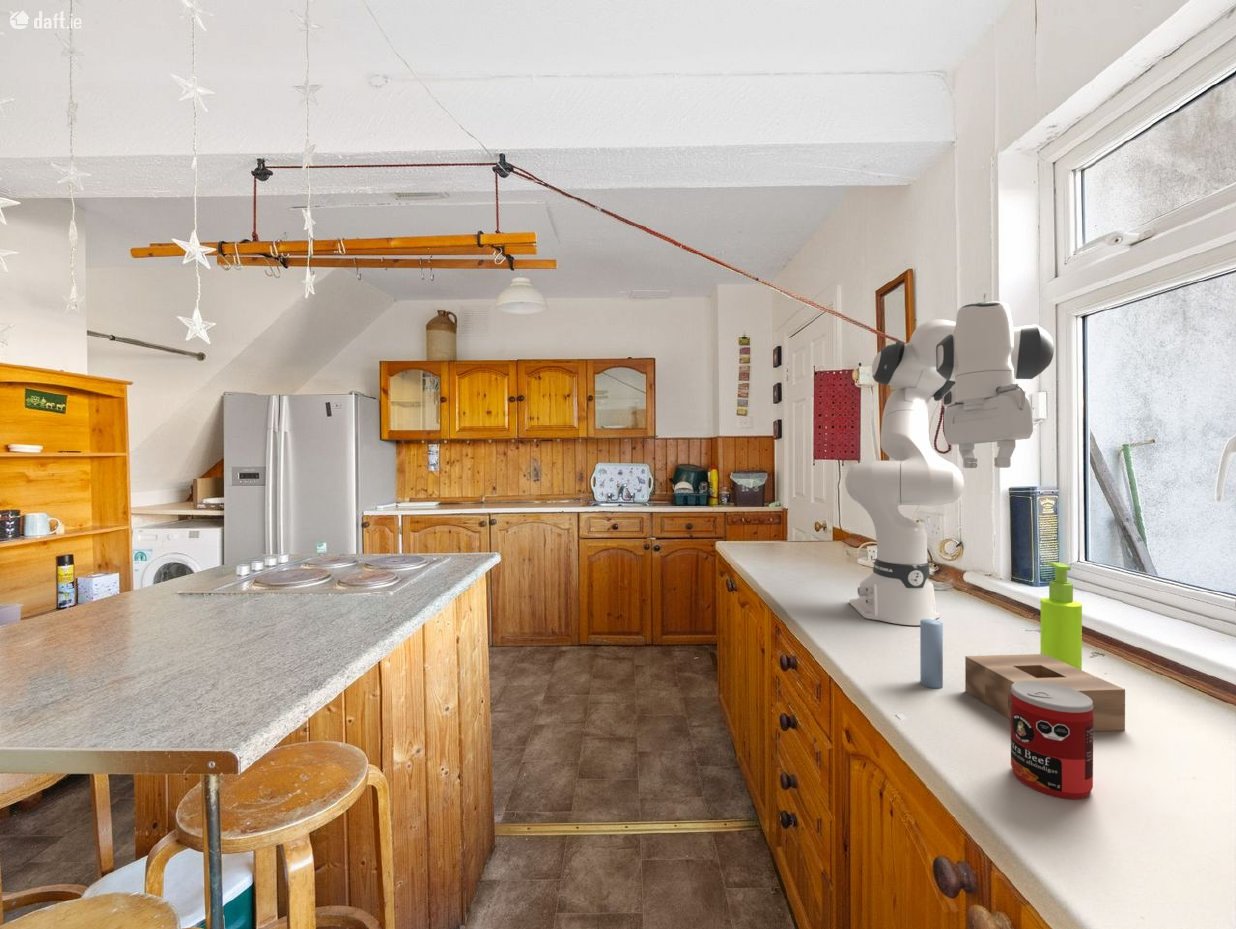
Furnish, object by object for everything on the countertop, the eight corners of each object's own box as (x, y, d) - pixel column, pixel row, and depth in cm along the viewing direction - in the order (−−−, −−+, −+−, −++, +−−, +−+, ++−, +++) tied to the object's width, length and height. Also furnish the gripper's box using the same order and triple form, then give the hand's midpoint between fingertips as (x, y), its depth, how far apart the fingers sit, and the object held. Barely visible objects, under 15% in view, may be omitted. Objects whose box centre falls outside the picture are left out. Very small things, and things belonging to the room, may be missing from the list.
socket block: (965, 691, 91) (965, 656, 91) (1044, 688, 92) (1044, 654, 92) (1032, 733, 77) (1032, 692, 77) (1124, 730, 78) (1125, 689, 78)
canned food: (995, 765, 70) (995, 681, 69) (1052, 761, 70) (1052, 678, 70) (1047, 803, 62) (1047, 708, 62) (1111, 798, 63) (1111, 705, 63)
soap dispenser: (1069, 666, 102) (1070, 561, 101) (1088, 680, 95) (1088, 568, 95) (1032, 662, 104) (1033, 559, 103) (1048, 676, 97) (1048, 566, 97)
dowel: (916, 680, 96) (916, 619, 96) (934, 680, 96) (934, 619, 96) (928, 688, 92) (928, 625, 92) (947, 688, 93) (947, 624, 92)
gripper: (1044, 381, 86) (1045, 467, 86) (970, 398, 106) (971, 468, 106) (1002, 381, 86) (1004, 467, 86) (937, 399, 107) (938, 468, 106)
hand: (985, 467), depth 96 cm, fingers open, 8 cm apart
